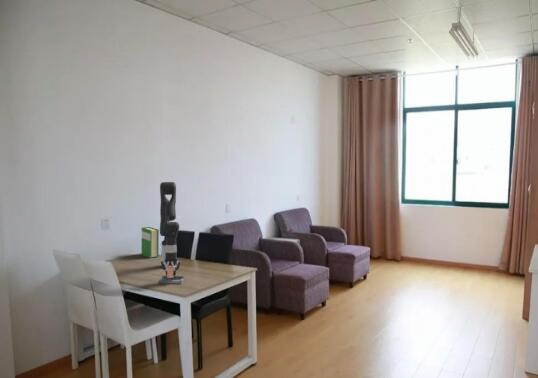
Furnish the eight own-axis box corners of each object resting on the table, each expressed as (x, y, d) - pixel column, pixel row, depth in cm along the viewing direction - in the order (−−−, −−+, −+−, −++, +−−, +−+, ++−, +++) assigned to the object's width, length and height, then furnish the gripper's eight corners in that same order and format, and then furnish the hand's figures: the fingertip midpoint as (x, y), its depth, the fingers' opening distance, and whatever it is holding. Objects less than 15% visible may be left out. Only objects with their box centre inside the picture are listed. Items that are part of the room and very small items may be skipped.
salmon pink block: (168, 276, 271) (168, 266, 270) (174, 276, 271) (174, 266, 270) (167, 277, 267) (167, 267, 267) (173, 277, 267) (173, 267, 266)
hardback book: (158, 257, 340) (158, 229, 338) (150, 258, 335) (150, 230, 334) (149, 253, 353) (149, 226, 352) (141, 254, 348) (141, 227, 347)
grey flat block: (162, 279, 273) (162, 275, 273) (184, 280, 273) (184, 276, 273) (159, 283, 265) (159, 279, 265) (181, 283, 265) (181, 279, 265)
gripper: (182, 250, 272) (182, 274, 273) (162, 249, 272) (161, 274, 273) (180, 252, 264) (179, 277, 265) (159, 252, 264) (158, 277, 265)
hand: (170, 275), depth 269 cm, fingers closed on salmon pink block, 4 cm apart
